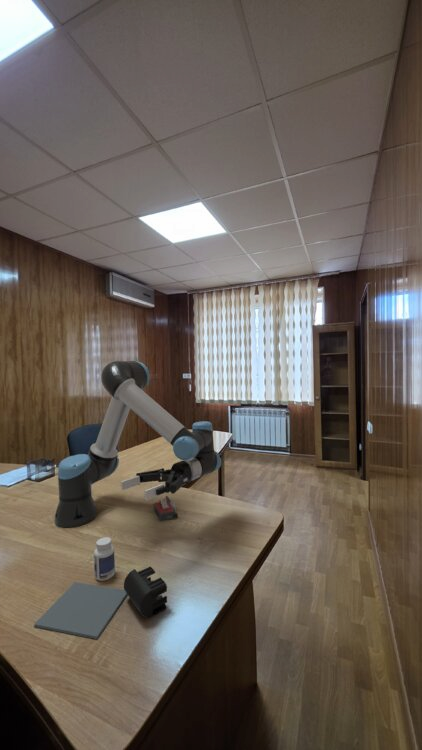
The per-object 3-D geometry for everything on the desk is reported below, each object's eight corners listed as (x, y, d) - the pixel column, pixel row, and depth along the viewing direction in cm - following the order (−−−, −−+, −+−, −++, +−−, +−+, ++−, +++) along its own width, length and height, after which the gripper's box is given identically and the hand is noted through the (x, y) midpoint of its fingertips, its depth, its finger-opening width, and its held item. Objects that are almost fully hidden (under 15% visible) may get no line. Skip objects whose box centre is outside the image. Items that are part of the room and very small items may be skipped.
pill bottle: (118, 570, 89) (117, 537, 89) (106, 583, 84) (105, 547, 84) (103, 567, 91) (102, 534, 91) (90, 579, 86) (89, 544, 85)
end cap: (123, 599, 78) (122, 573, 78) (149, 587, 82) (148, 562, 82) (140, 625, 70) (139, 596, 70) (168, 610, 74) (167, 582, 74)
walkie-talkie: (183, 519, 119) (168, 499, 137) (182, 507, 119) (168, 489, 137) (160, 524, 116) (149, 503, 134) (160, 512, 116) (148, 493, 134)
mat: (34, 626, 70) (34, 624, 70) (74, 584, 84) (74, 582, 84) (97, 639, 67) (97, 636, 67) (128, 592, 80) (128, 590, 80)
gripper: (211, 488, 101) (158, 513, 86) (165, 475, 119) (113, 493, 103) (209, 466, 101) (156, 486, 86) (163, 455, 118) (112, 471, 103)
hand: (132, 490), depth 95 cm, fingers open, 13 cm apart
